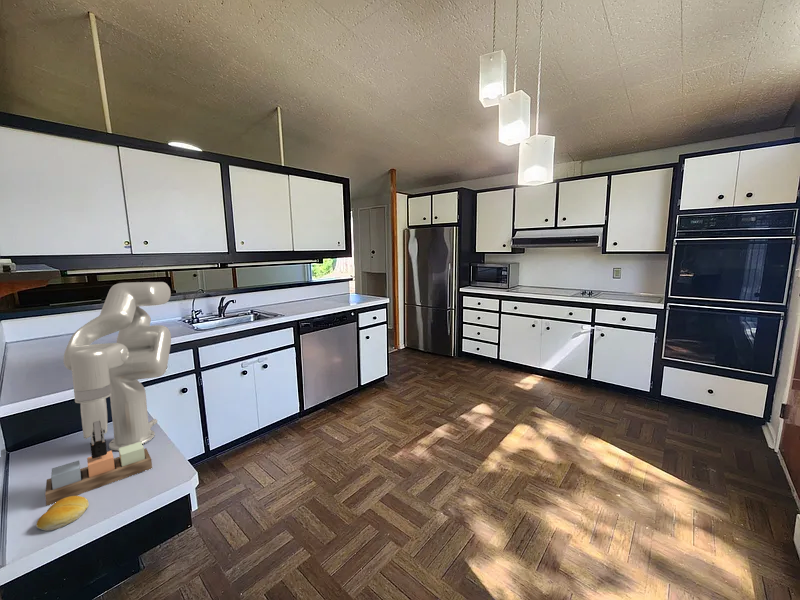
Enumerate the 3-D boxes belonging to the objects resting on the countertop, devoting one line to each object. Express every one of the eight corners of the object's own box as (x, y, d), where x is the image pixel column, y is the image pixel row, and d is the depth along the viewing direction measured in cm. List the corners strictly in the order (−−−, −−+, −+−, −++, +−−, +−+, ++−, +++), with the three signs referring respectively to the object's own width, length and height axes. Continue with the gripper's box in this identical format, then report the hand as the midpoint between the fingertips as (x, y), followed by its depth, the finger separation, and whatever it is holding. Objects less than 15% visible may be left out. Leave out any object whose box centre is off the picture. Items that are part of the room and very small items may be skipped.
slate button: (80, 473, 95) (79, 460, 94) (81, 481, 91) (79, 468, 91) (53, 482, 91) (51, 468, 91) (52, 491, 87) (51, 477, 87)
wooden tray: (147, 457, 107) (146, 448, 107) (152, 468, 101) (151, 459, 100) (47, 489, 92) (46, 479, 91) (46, 505, 85) (45, 495, 85)
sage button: (142, 453, 105) (141, 441, 104) (145, 460, 101) (144, 447, 100) (119, 460, 101) (118, 448, 100) (122, 468, 97) (120, 455, 97)
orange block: (113, 463, 100) (111, 450, 99) (114, 470, 96) (113, 457, 96) (88, 471, 96) (87, 457, 96) (89, 479, 92) (87, 465, 92)
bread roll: (28, 536, 76) (26, 520, 75) (56, 509, 84) (54, 494, 84) (74, 527, 78) (72, 511, 78) (95, 502, 87) (94, 487, 86)
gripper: (74, 390, 96) (80, 451, 98) (75, 404, 86) (82, 472, 87) (108, 383, 102) (113, 441, 103) (113, 396, 91) (119, 460, 93)
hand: (99, 455), depth 95 cm, fingers closed
